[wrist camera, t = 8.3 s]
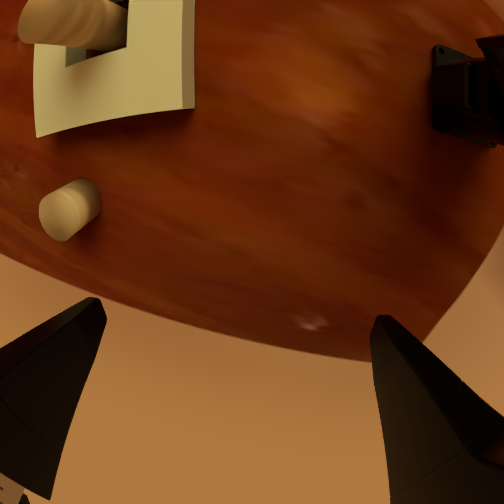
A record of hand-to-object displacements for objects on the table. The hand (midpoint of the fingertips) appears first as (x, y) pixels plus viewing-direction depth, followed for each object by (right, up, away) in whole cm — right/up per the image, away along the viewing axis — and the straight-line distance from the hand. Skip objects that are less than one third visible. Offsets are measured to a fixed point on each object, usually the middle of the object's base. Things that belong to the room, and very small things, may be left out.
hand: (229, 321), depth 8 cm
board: (-9, +18, +5) cm, 20 cm away
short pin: (-13, +6, +12) cm, 19 cm away
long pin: (-9, +18, +5) cm, 20 cm away
